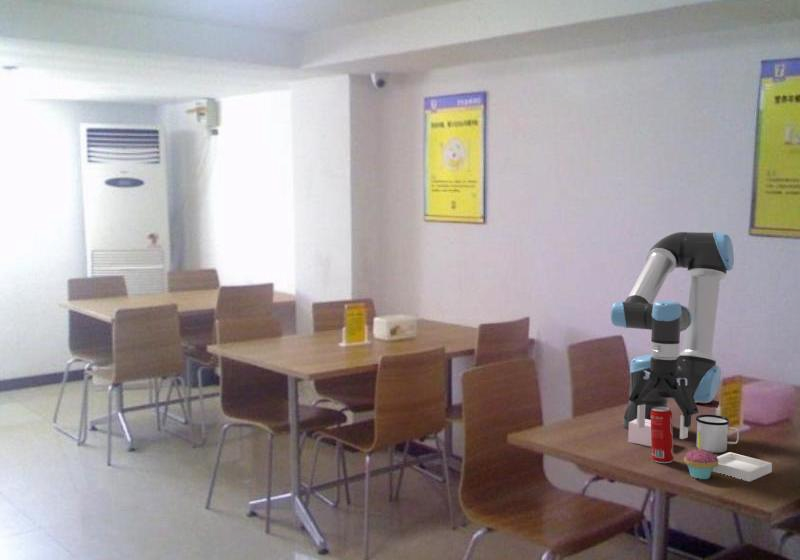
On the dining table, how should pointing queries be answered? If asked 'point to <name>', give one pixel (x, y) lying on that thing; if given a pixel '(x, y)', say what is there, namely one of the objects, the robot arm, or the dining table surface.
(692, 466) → the cupcake
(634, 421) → the tissue box
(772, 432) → the dining table surface
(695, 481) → the dining table surface
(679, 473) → the dining table surface
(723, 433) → the mug
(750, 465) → the tray
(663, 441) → the beverage can
